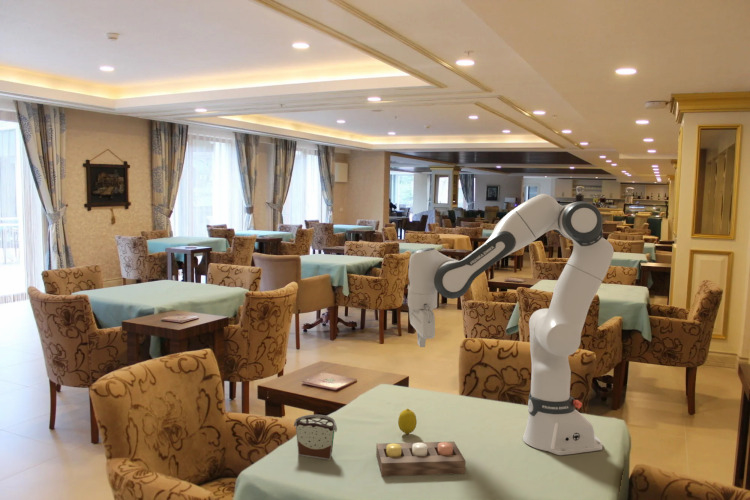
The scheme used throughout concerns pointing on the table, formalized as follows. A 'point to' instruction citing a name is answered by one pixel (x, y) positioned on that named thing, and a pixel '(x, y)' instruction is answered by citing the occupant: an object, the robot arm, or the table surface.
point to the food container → (315, 435)
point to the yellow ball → (393, 450)
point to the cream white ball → (419, 449)
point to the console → (419, 461)
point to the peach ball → (445, 448)
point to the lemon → (407, 421)
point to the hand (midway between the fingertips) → (421, 346)
